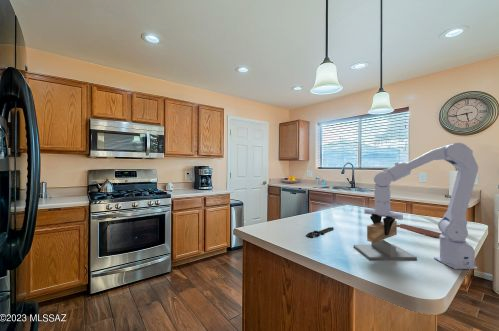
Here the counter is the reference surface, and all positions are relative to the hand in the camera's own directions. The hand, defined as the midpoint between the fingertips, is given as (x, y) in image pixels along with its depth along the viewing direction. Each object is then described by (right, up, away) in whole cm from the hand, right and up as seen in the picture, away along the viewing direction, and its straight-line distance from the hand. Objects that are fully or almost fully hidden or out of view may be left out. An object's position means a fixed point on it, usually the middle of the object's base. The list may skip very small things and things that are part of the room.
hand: (382, 233), depth 95 cm
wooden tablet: (+38, -8, +32) cm, 50 cm away
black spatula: (-16, -9, +30) cm, 35 cm away
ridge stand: (0, -8, 0) cm, 8 cm away
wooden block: (0, -2, 0) cm, 2 cm away
